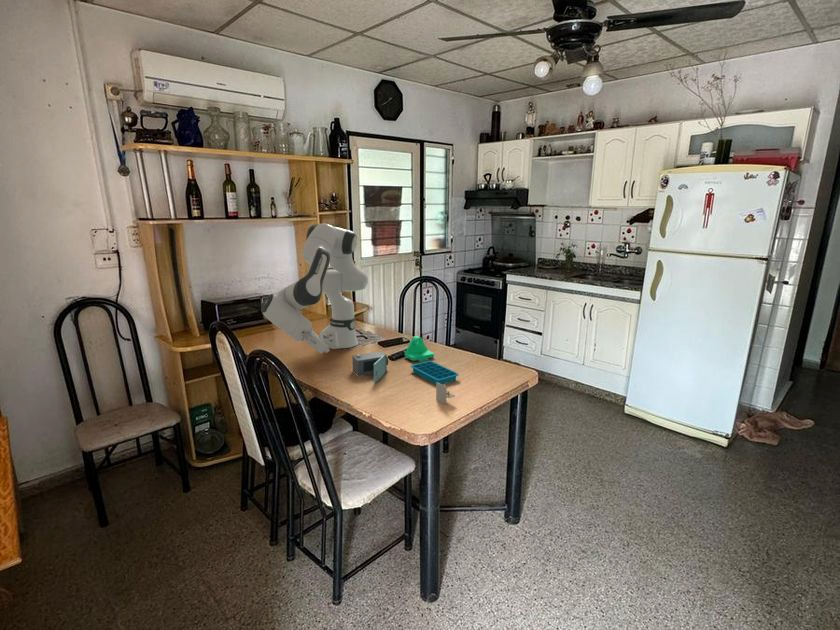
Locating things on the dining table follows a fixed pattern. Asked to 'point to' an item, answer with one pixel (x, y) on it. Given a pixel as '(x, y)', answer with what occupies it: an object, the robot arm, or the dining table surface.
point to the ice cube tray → (434, 372)
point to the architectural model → (442, 393)
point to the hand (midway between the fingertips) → (327, 350)
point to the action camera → (366, 363)
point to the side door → (379, 368)
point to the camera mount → (418, 350)
